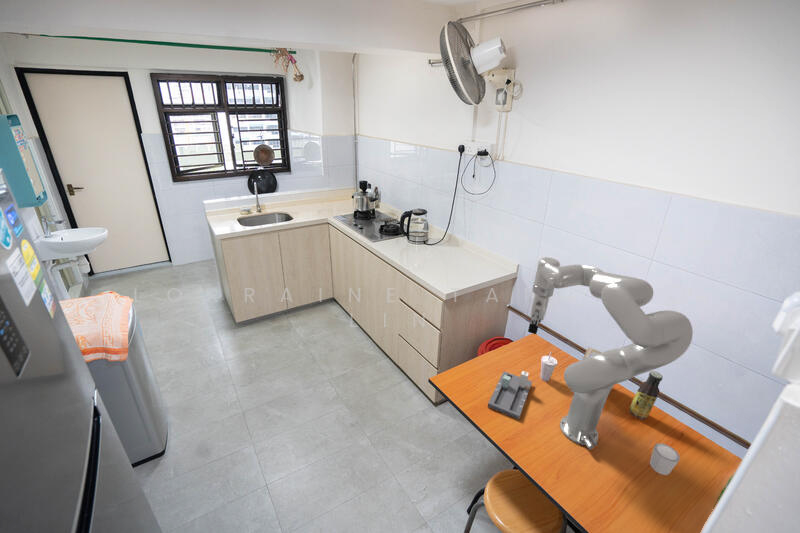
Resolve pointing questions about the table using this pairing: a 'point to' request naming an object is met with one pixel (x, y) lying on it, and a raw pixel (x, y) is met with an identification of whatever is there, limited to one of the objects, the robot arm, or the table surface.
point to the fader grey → (523, 380)
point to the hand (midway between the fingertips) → (534, 326)
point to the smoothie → (547, 367)
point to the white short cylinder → (664, 459)
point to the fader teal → (505, 382)
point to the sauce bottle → (646, 396)
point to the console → (510, 397)
